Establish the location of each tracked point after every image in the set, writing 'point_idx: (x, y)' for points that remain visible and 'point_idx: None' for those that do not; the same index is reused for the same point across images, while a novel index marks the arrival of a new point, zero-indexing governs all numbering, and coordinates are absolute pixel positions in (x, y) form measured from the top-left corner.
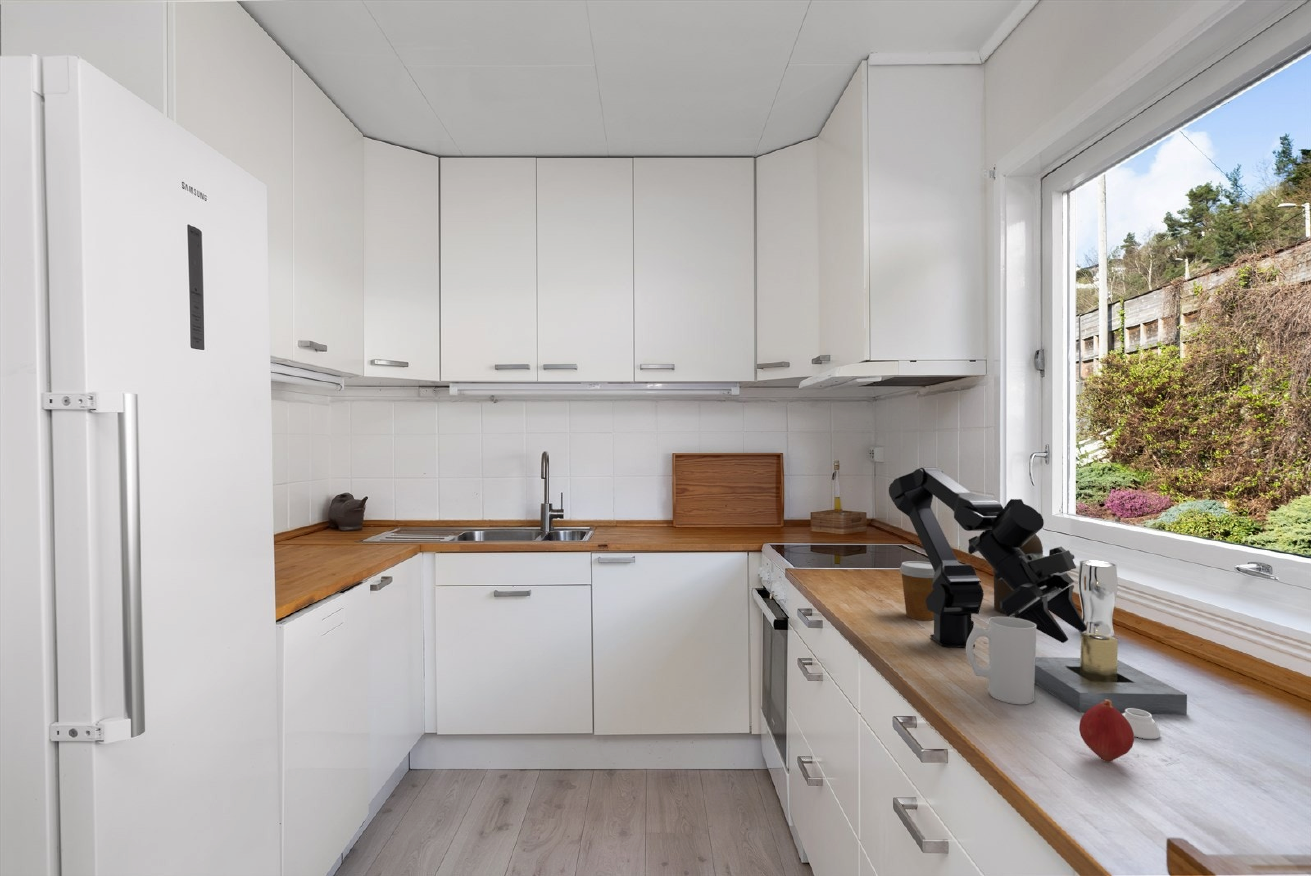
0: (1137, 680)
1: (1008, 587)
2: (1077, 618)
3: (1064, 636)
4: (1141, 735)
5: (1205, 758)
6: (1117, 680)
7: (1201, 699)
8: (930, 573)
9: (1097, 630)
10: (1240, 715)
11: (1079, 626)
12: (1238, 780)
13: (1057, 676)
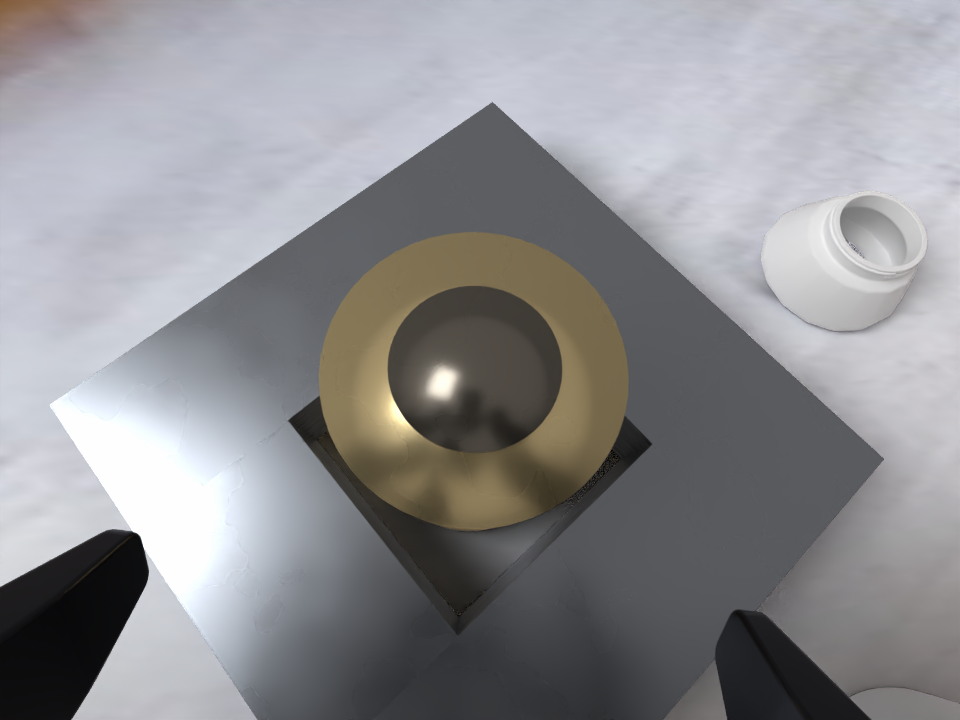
0: None
1: None
2: (10, 663)
3: (796, 650)
4: (895, 249)
5: (861, 113)
6: None
7: (257, 131)
8: None
9: None
10: (360, 44)
11: (103, 613)
12: (940, 56)
13: (713, 622)
